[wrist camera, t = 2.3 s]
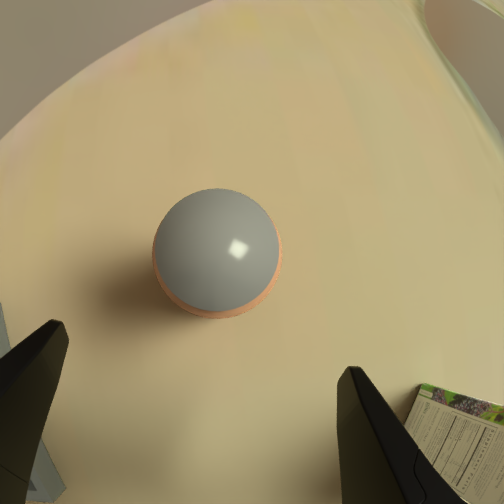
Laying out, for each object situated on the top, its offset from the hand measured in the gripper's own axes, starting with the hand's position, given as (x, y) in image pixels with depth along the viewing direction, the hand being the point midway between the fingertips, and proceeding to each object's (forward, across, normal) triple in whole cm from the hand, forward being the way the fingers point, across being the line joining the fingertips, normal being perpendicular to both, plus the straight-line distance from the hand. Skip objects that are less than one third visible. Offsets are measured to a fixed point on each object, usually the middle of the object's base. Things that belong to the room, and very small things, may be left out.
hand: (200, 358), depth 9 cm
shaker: (+10, 0, +5) cm, 11 cm away
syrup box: (+3, -18, +12) cm, 22 cm away
